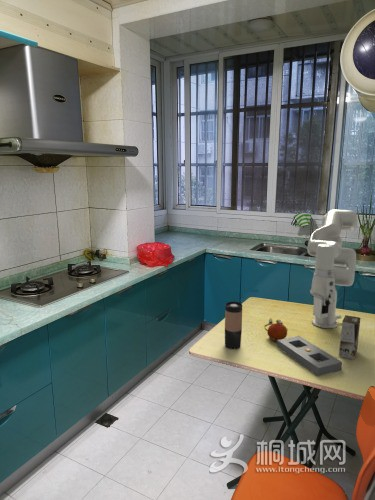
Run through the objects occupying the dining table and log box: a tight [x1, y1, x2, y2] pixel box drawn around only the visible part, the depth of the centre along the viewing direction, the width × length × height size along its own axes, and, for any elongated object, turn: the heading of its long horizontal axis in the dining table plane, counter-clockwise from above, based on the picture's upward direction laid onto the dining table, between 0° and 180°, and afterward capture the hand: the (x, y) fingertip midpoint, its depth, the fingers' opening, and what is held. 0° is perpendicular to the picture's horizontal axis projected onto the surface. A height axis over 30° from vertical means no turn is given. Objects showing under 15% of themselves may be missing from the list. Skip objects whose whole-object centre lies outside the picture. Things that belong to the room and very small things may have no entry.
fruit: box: [266, 322, 288, 342], centre depth 172 cm, size 9×9×8 cm
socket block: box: [276, 335, 343, 377], centre depth 155 cm, size 12×26×4 cm, turn 23°
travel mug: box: [224, 301, 243, 350], centre depth 164 cm, size 8×8×20 cm
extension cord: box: [264, 317, 288, 332], centre depth 186 cm, size 12×16×2 cm
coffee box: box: [338, 314, 361, 360], centre depth 157 cm, size 9×6×16 cm
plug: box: [311, 293, 328, 318], centre depth 162 cm, size 6×6×12 cm
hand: (320, 310), depth 163 cm, fingers closed on plug, 4 cm apart
